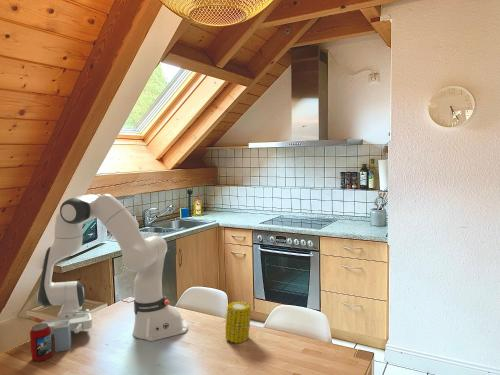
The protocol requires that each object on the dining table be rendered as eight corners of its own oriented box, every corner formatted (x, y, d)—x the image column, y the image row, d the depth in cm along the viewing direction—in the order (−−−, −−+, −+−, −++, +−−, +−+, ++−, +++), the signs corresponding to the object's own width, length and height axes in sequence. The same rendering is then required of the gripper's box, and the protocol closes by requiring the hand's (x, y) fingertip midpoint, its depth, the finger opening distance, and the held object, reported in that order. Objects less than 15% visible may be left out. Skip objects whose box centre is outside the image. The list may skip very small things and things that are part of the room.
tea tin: (71, 343, 160) (70, 319, 159) (70, 349, 155) (68, 324, 154) (57, 345, 158) (55, 321, 157) (55, 352, 153) (53, 326, 152)
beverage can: (44, 363, 145) (41, 331, 144) (27, 361, 147) (25, 329, 145) (56, 353, 152) (54, 323, 151) (40, 352, 153) (38, 321, 152)
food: (226, 337, 164) (250, 338, 164) (223, 345, 152) (249, 346, 152) (227, 299, 166) (251, 300, 166) (224, 303, 154) (250, 304, 154)
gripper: (40, 315, 166) (32, 329, 153) (93, 308, 172) (90, 321, 159) (41, 330, 167) (34, 345, 154) (94, 322, 173) (91, 336, 160)
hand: (63, 333), depth 156 cm, fingers open, 8 cm apart
